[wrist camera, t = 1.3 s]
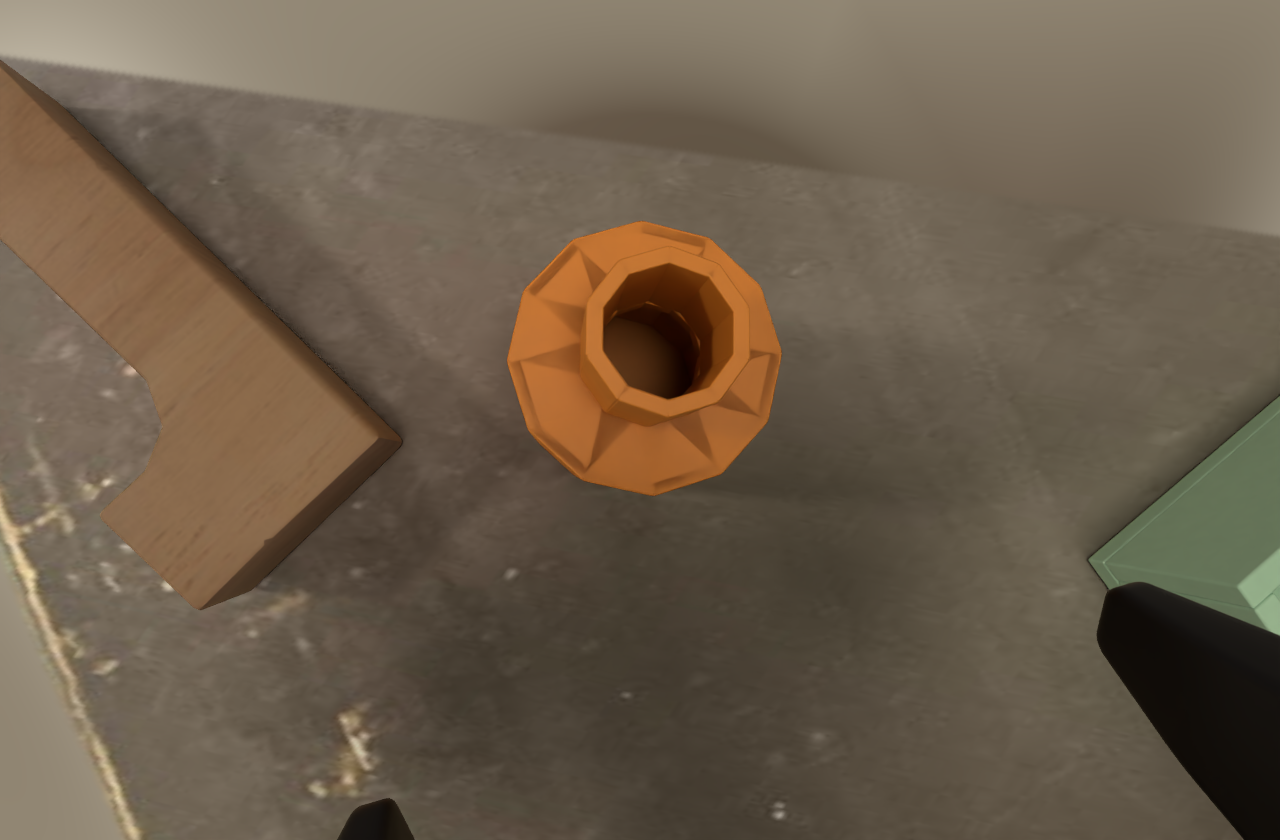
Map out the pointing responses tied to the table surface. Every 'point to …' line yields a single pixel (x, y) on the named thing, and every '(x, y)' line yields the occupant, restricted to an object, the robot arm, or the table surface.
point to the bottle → (644, 358)
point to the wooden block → (184, 362)
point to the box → (1213, 531)
